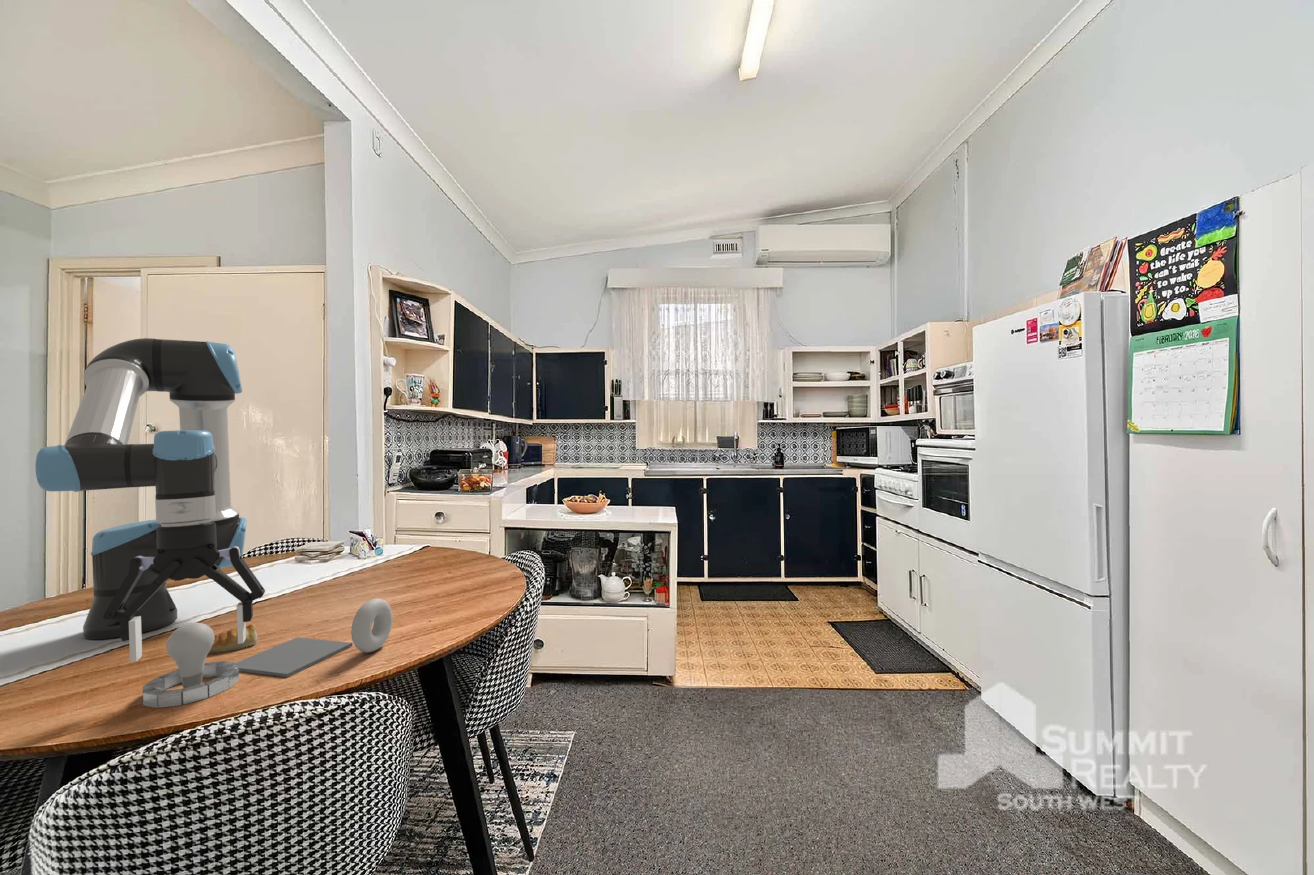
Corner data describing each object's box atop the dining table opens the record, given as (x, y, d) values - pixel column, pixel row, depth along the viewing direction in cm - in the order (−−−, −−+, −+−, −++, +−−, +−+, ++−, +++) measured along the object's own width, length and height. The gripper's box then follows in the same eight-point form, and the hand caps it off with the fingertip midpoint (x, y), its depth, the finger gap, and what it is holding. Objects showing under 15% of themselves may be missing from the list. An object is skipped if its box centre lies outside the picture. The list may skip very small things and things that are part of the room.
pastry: (198, 659, 103) (197, 639, 103) (198, 649, 108) (197, 630, 108) (259, 646, 109) (258, 627, 109) (256, 637, 114) (256, 619, 114)
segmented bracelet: (123, 702, 86) (123, 690, 86) (204, 669, 97) (204, 658, 97) (178, 711, 83) (177, 698, 83) (255, 676, 94) (254, 665, 94)
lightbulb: (194, 679, 94) (192, 616, 93) (225, 681, 93) (223, 617, 93) (157, 697, 87) (155, 629, 87) (190, 698, 87) (187, 630, 86)
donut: (364, 661, 99) (363, 608, 99) (347, 661, 100) (345, 607, 100) (397, 640, 109) (395, 591, 109) (381, 640, 110) (379, 591, 110)
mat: (226, 669, 97) (226, 666, 97) (297, 640, 111) (297, 637, 111) (287, 677, 94) (287, 673, 94) (352, 645, 107) (352, 642, 107)
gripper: (71, 534, 80) (76, 676, 80) (275, 517, 93) (279, 640, 93) (92, 528, 87) (97, 659, 87) (280, 512, 99) (284, 627, 99)
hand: (191, 650), depth 90 cm, fingers open, 13 cm apart
